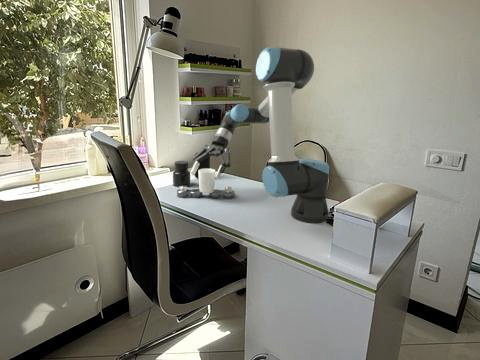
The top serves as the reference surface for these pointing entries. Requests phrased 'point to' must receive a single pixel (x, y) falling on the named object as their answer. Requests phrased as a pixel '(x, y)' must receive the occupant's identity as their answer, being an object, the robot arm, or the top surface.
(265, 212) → the top surface
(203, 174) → the white cup
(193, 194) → the chain end left
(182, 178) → the ink bottle
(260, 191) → the top surface
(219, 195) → the chain end right
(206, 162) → the black rounded slab
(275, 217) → the top surface
